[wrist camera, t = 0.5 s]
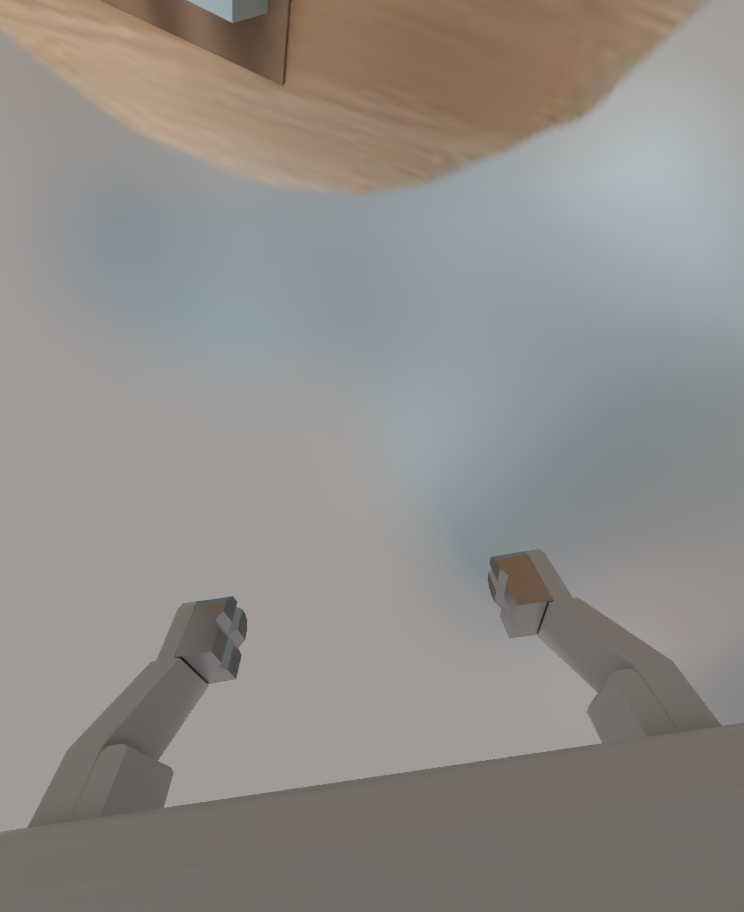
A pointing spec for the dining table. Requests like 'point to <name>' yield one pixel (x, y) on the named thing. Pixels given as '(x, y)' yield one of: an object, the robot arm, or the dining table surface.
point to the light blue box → (234, 8)
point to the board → (223, 32)
